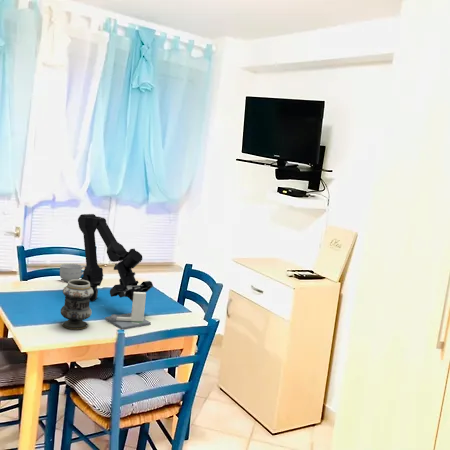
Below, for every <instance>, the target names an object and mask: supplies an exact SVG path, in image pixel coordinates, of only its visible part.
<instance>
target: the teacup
mask: <svg viewBox="0 0 450 450" xmlns="http://www.w3.org/2000/svg"><path fill="white" fill-rule="evenodd" d="M85 267H86V265H85V264H78V263H63V264H60V265H59V276H60V279H62V280H63V281H64V282H67V283H68V281H70V280H73V279H81V278H82V276H83V272H84V270H83V268H85Z"/></svg>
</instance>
